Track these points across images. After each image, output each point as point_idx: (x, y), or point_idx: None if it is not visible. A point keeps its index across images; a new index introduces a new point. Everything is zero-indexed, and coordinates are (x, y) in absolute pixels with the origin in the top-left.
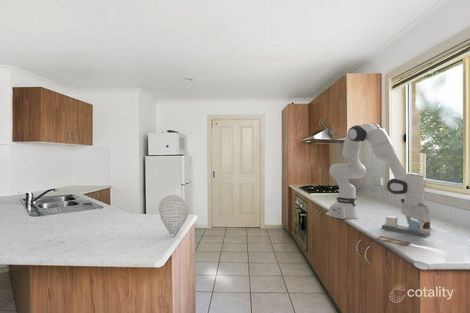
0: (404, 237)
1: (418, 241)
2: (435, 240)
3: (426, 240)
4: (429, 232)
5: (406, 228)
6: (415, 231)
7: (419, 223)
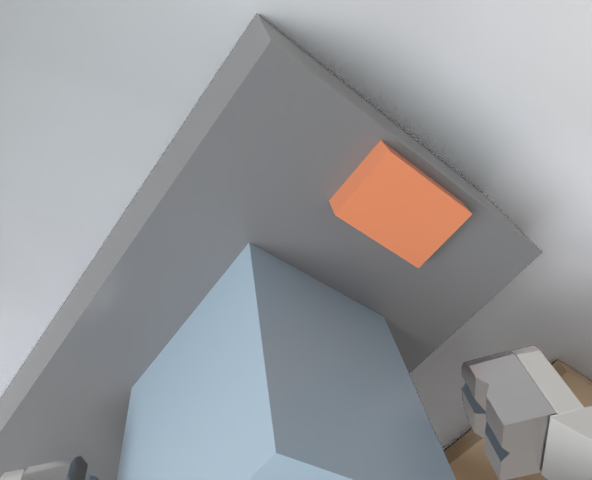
0: None
1: (581, 319)
2: (567, 40)
3: (551, 204)
4: (288, 49)
5: None
6: None
7: (426, 467)
